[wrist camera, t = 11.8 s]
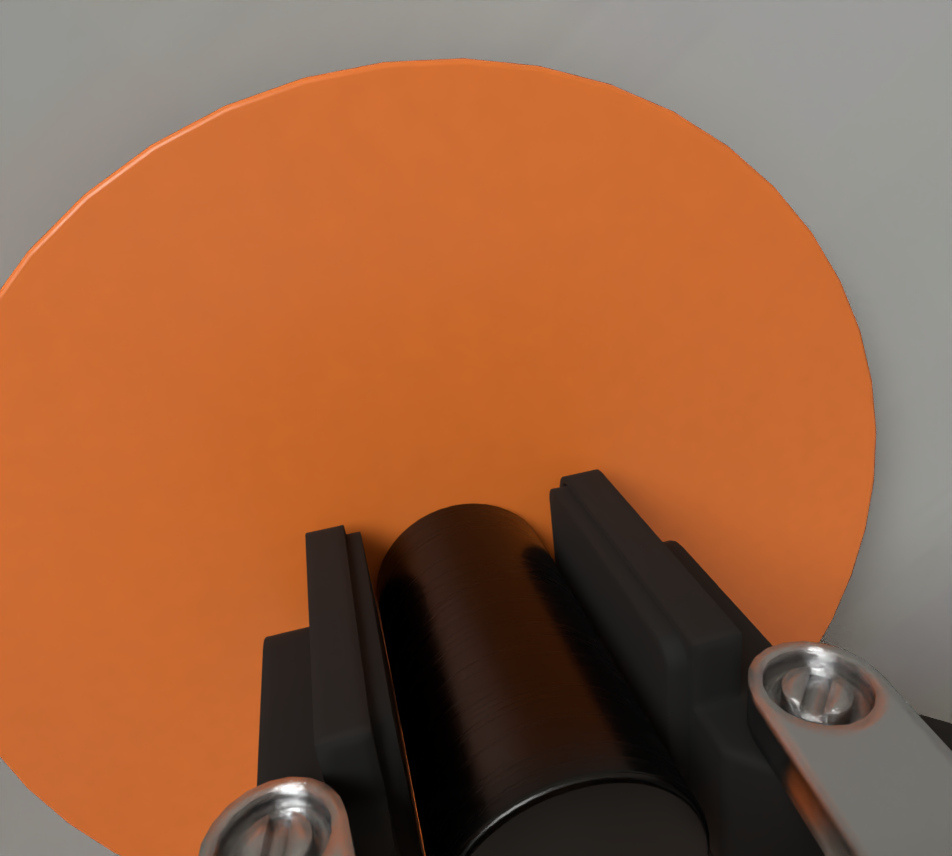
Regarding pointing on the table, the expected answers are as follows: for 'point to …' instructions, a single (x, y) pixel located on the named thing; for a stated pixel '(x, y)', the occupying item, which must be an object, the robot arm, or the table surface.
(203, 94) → the table surface
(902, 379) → the table surface
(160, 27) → the table surface
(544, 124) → the tin lid
